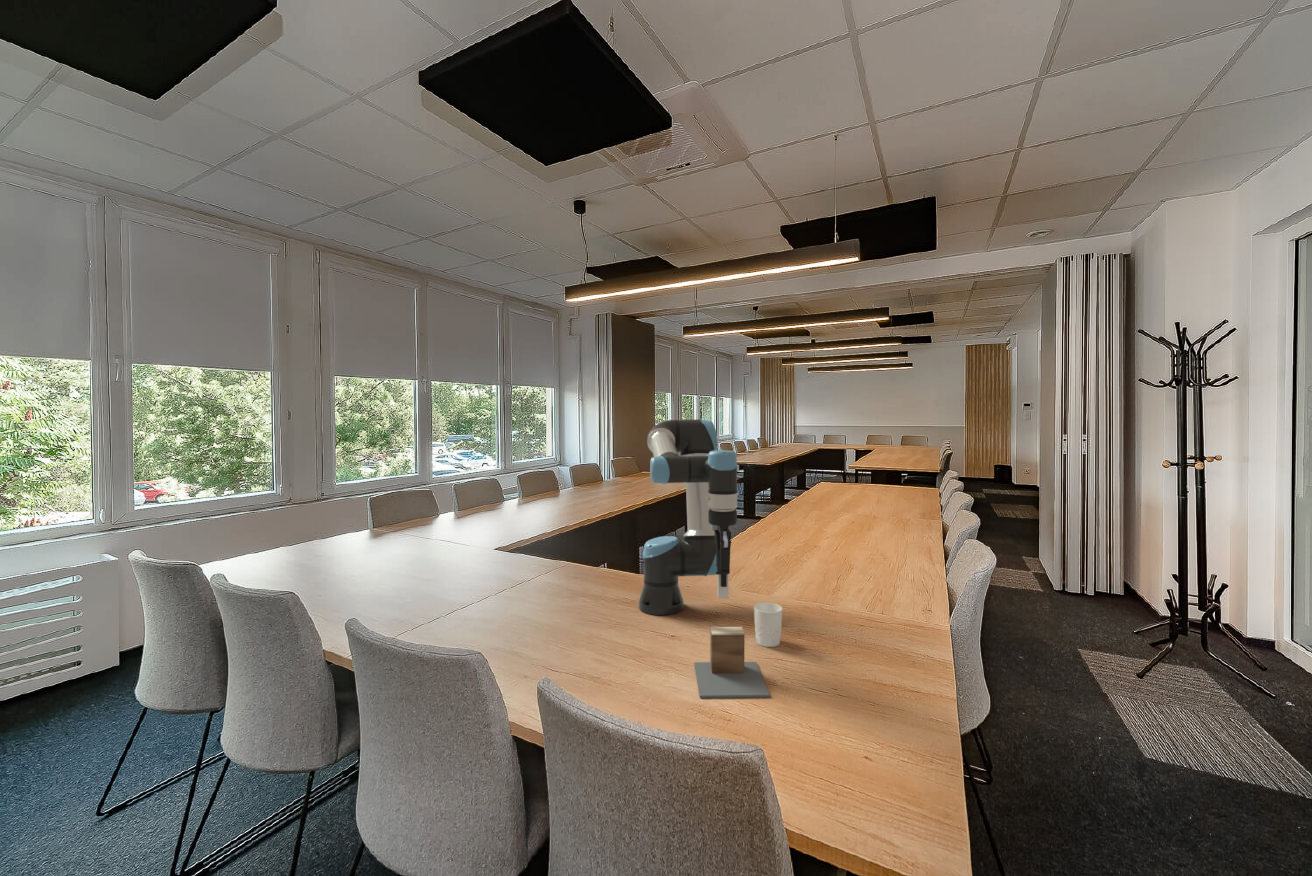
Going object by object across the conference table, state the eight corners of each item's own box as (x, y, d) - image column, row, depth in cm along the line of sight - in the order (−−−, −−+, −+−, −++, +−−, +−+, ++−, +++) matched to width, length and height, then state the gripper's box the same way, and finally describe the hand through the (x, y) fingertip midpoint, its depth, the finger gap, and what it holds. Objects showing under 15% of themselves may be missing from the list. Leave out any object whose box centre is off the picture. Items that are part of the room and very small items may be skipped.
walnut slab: (710, 665, 130) (710, 627, 130) (741, 665, 130) (741, 626, 130) (712, 673, 126) (711, 633, 126) (744, 673, 126) (744, 633, 126)
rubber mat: (694, 664, 132) (694, 662, 132) (756, 664, 132) (756, 661, 132) (699, 698, 116) (699, 695, 116) (770, 697, 116) (770, 695, 116)
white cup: (761, 650, 140) (761, 614, 140) (749, 638, 148) (749, 604, 148) (787, 646, 142) (787, 611, 142) (773, 635, 150) (773, 601, 150)
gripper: (705, 505, 141) (706, 589, 142) (711, 513, 128) (711, 606, 129) (732, 504, 141) (733, 589, 142) (741, 513, 128) (741, 606, 129)
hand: (722, 597), depth 136 cm, fingers closed
